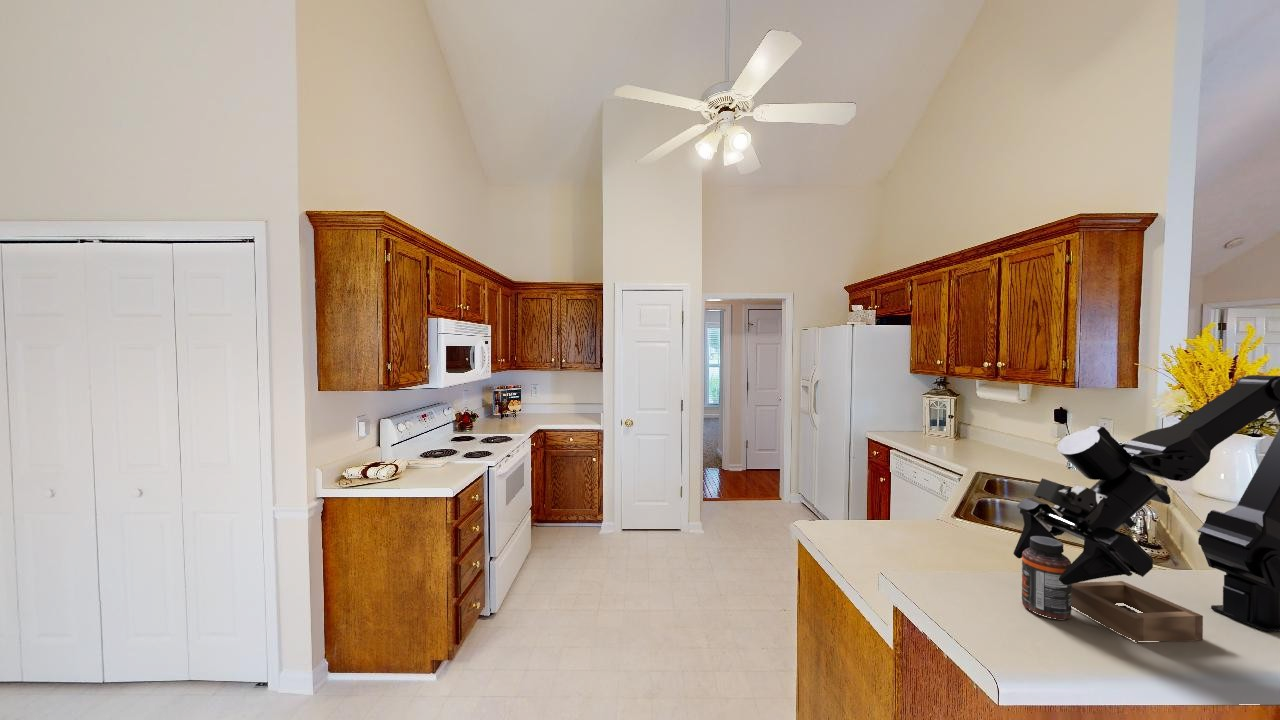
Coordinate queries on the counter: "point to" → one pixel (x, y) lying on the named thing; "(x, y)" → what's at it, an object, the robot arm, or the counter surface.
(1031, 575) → the supplement bottle
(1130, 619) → the socket collar
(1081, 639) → the counter surface
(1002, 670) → the counter surface
